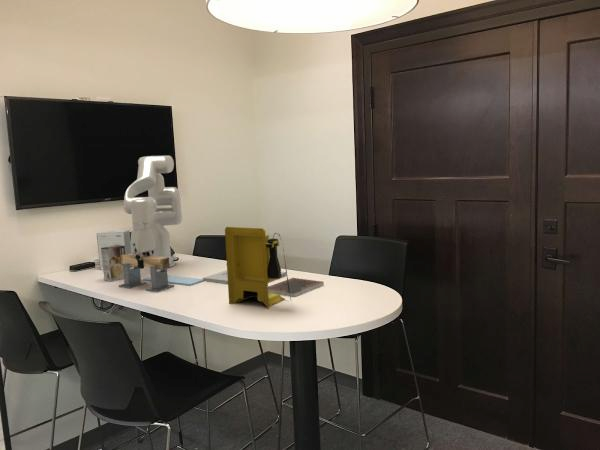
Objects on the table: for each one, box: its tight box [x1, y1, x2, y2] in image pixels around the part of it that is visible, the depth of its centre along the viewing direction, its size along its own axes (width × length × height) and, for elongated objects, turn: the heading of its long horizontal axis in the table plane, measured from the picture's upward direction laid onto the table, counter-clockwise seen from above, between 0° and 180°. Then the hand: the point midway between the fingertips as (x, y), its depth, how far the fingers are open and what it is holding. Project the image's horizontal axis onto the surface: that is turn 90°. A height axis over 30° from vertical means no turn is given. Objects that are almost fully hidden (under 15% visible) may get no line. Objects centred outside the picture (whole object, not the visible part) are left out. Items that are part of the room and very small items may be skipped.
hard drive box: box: [96, 230, 134, 269], centre depth 269 cm, size 16×8×20 cm, turn 84°
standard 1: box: [118, 264, 148, 289], centre depth 228 cm, size 10×7×10 cm
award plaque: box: [202, 269, 287, 285], centre depth 234 cm, size 25×30×2 cm
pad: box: [142, 274, 204, 287], centre depth 235 cm, size 10×30×1 cm, turn 60°
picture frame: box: [268, 277, 324, 298], centre depth 212 cm, size 16×2×22 cm
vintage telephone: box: [224, 226, 292, 310], centre depth 191 cm, size 31×14×30 cm, turn 59°
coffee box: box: [101, 245, 125, 282], centre depth 242 cm, size 9×6×16 cm
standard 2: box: [145, 266, 175, 293], centre depth 220 cm, size 10×7×10 cm
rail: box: [120, 253, 171, 270], centre depth 224 cm, size 4×26×4 cm, turn 60°
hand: (145, 266), depth 224 cm, fingers closed on rail, 4 cm apart
